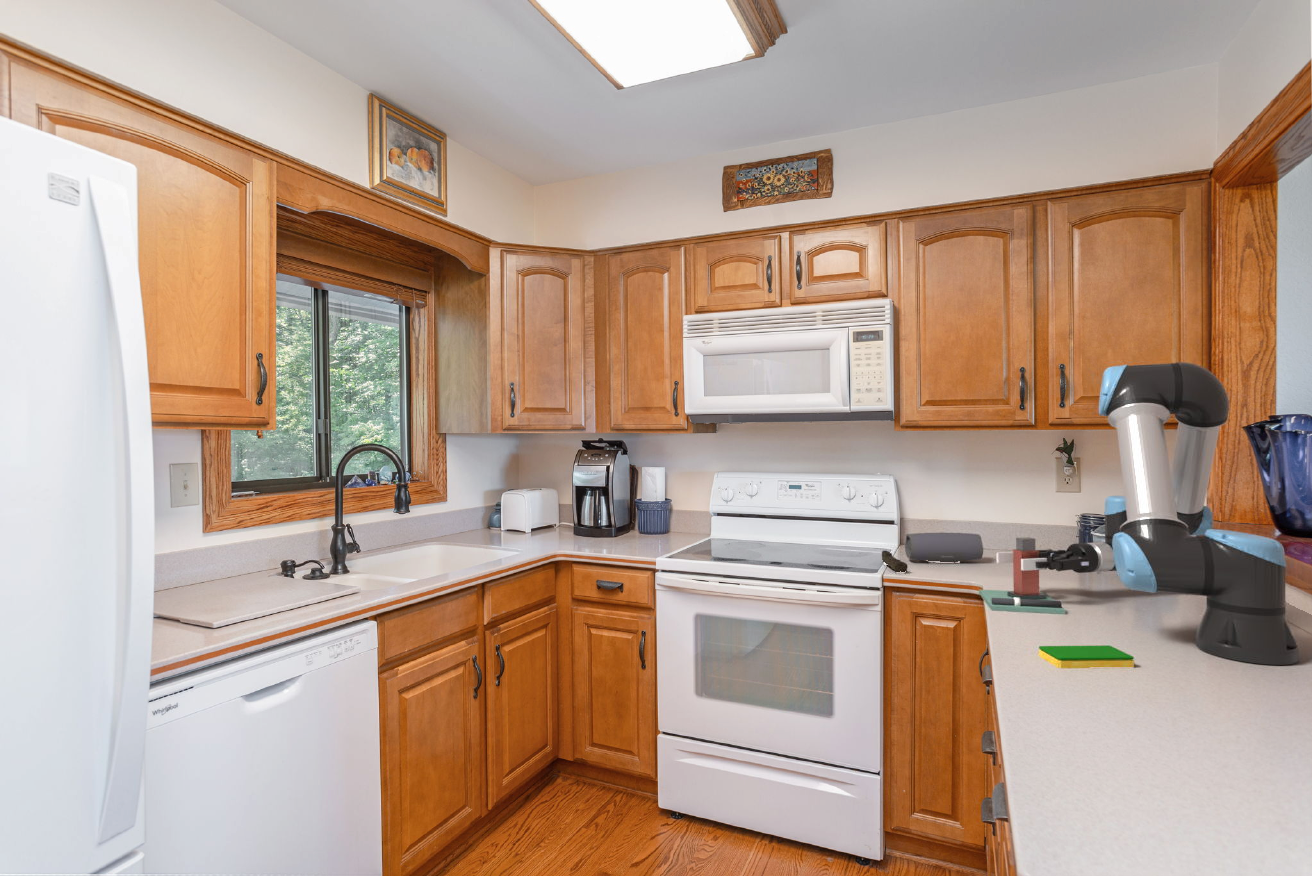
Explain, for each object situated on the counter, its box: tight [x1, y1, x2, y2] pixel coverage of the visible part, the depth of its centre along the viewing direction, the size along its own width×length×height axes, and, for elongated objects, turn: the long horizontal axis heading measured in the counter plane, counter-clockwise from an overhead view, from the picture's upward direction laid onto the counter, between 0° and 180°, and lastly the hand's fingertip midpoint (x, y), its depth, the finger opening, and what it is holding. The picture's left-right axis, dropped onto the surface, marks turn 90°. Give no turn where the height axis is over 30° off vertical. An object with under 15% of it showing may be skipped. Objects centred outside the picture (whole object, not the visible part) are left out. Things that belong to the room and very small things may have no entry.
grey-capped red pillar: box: [1006, 537, 1047, 600], centre depth 173 cm, size 5×7×15 cm
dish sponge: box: [1038, 644, 1135, 669], centre depth 128 cm, size 7×14×2 cm, turn 89°
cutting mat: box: [978, 589, 1066, 615], centre depth 172 cm, size 18×16×3 cm
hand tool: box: [881, 549, 909, 573], centre depth 218 cm, size 19×4×5 cm, turn 175°
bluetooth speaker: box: [904, 532, 984, 562], centre depth 226 cm, size 23×9×10 cm, turn 84°
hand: (1009, 561), depth 173 cm, fingers open, 9 cm apart
